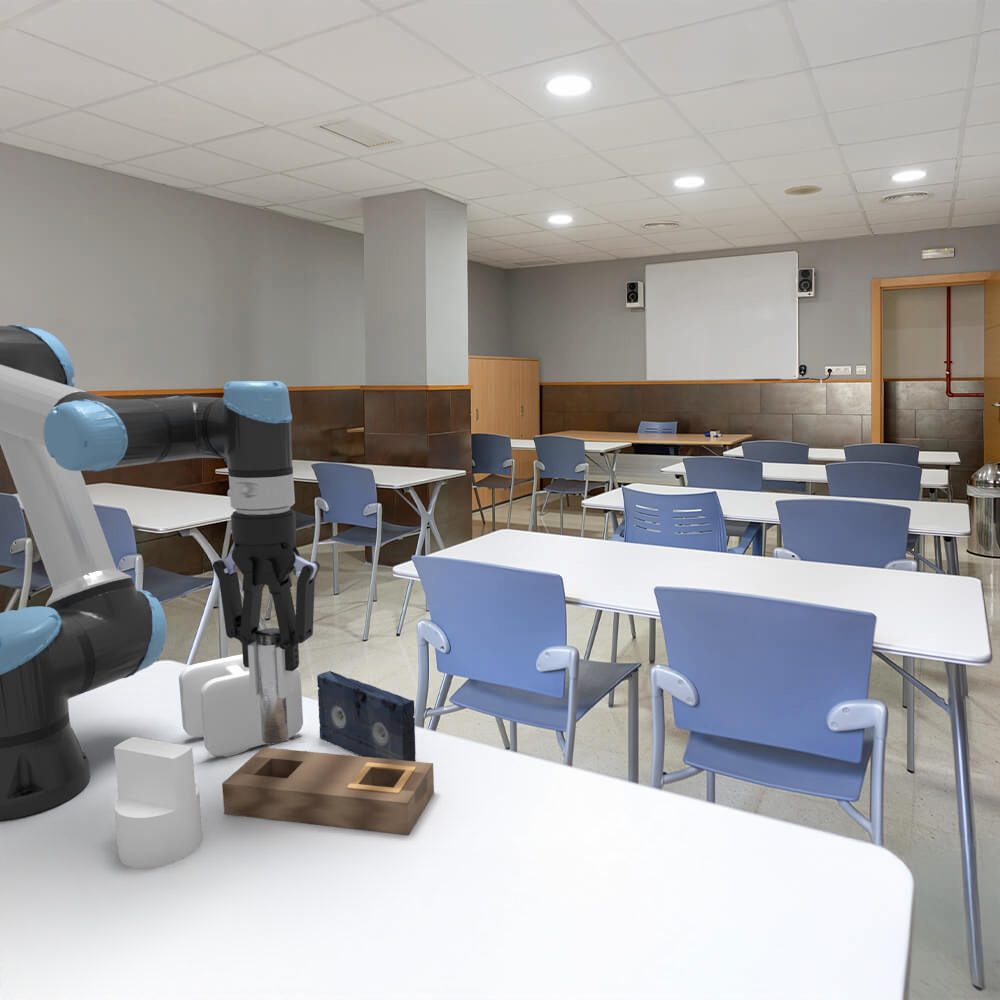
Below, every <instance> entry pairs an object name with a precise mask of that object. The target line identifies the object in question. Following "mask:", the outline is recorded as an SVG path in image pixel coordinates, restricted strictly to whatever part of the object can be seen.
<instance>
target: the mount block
mask: <svg viewBox="0 0 1000 1000" xmlns="http://www.w3.org/2000/svg"><path fill="white" fill-rule="evenodd" d="M434 782H435V781H434V763H433V762H424V761H423V762H422V761H416V762H415V761H404V760H393V759H382V758H372V757H362V756H359V755H350V754H349V755H348V754H338V753H328V752H315V751H307V750H305V751H304V750H297V749H285V748H275V747H274V748H273V747H261V749H259V750H258V751H257V752H256V753H255V754H254V755H253V756H251V758H249V759H248V760H247V761H246V762H244V763H243V764H242V765H241V766H240V767H239V768H238V769H237V770H236V771H234V772H232V774H231V775H230V776H229V777H227V778H226V779H225V780H224V781H223V782H222V783H221V785H222V787H221V789H222V800H223V814H225V815H234V816H241V817H251V818H259V819H268V820H277V821H284V822H285V821H287V822H293V823H294V822H295V823H302V824H310V825H318V826H319V825H320V826H328V827H329V826H330V827H337V828H346V829H353V830H354V829H355V830H364V831H372V832H380V833H381V832H382V833H388V834H389V833H390V834H398V835H406V836H407V835H408V836H409V835H410V833H411V831H412V829H413V828H414V827H415V824H416V823H417V821H418V820H419V819H420V816H421V815H422V814H423V812H424V810H425V809H426V806H427V804H428V803H429V801H430V800H431V798H432V796H433V795H434V793H435V784H434Z"/></svg>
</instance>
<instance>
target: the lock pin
mask: <svg viewBox="0 0 1000 1000" xmlns="http://www.w3.org/2000/svg"><path fill="white" fill-rule="evenodd" d="M256 640H257V659H258V677H259V696H260V714H261V733H262V741H263V742H264V743H266V744H267V743H268V744H271V745H274V744H280V743H282V742H285V740H286V739H287V738H288V727H287V706H286V697H285V698H279V694H278V674H277V654H276V647H278V646H279V645H280V644H281V643H282V641H281V636H280V631H279V627H278V628H276V627H268V628H263V629H260V630H259V631H258V632H256ZM286 741H287V740H286ZM268 744H267V745H268Z"/></svg>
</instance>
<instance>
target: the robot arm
mask: <svg viewBox="0 0 1000 1000" xmlns="http://www.w3.org/2000/svg"><path fill="white" fill-rule="evenodd" d="M75 373H76V372H75V368H74V364H73V361H72V358H71V356H70V354H69V352H68V350H67V349H66V347H65V346H64V345H63V343H62V342H61V341H60V340H59V339H58V337H56V336H54V334H51V333H50V332H47V331H46V330H44V329H42V328H36V327H26V326H24V325H19V324H9V325H0V447H1V450H2V453H3V456H4V459H5V461H6V464H7V467H8V469H9V472H10V475H11V478H12V479H13V483H14V486H15V489H16V492H17V494H18V497H19V499H20V503H21V506H22V508H23V510H24V513H25V517H26V519H27V522H28V524H29V525H28V526H29V527H30V530H31V533H32V535H33V539H34V541H35V544H36V547H37V549H38V552H39V554H40V557H41V561H42V563H43V566H44V569H45V571H46V574H47V577H48V580H49V583H50V585H51V588H52V593H51V594H50V597H49V599H48V600H47V602H46V604H45V606H41V605H39V606H28V607H27V606H26V607H22V608H20V609H17V610H14V609H11V610H7V611H3V612H0V821H5V820H10V819H17V818H22V817H26V816H30V815H34V814H37V813H41V812H43V811H46V810H49V809H51V808H54V807H57V806H59V805H60V804H62V803H65V802H66V801H68V800H71V798H73V797H75V796H76V795H78V794H79V793H80V792H81V791H82V790H84V788H85V787H86V786H87V785H88V783H89V782H90V779H91V770H90V762H89V758H88V756H87V754H86V753H85V752H84V751H83V750H82V747H81V744H80V742H79V740H78V738H77V735H76V733H75V731H74V729H73V728H72V725H71V720H70V719H71V718H70V711H69V700H70V699H72V698H74V697H77V696H79V695H82V694H85V693H87V692H88V693H89V692H90V691H92V690H95V689H98V688H100V687H103V686H106V685H109V684H110V683H114V682H117V681H119V680H121V679H126V678H129V677H132V676H134V675H135V674H136V673H138V672H140V671H143V670H145V669H147V668H149V667H151V666H152V665H153V664H154V663H155V662H157V660H158V659H159V658H160V656H161V655H162V652H163V651H164V645H165V644H166V641H167V632H168V629H167V628H168V627H167V620H166V614H165V611H164V608H163V606H162V604H161V603H160V601H159V600H158V598H157V597H153V594H152V593H151V592H150V591H147V590H146V589H145V590H142V589H137V587H136V585H135V582H134V580H133V579H134V578H133V577H132V576H131V575H130V574H127V573H125V572H122V571H121V570H119V569H118V568H117V567H116V564H115V562H114V558H113V556H112V553H111V550H110V548H109V545H108V542H107V539H106V536H105V534H104V530H103V528H102V525H101V523H100V520H99V518H98V515H97V512H96V510H95V506H94V504H93V501H92V498H91V496H90V493H89V490H88V487H87V485H86V481H85V479H84V476H83V474H82V472H84V471H90V472H101V471H104V470H105V471H106V470H109V469H115V468H123V467H131V466H139V465H145V464H152V463H154V464H155V463H162V462H172V461H178V460H179V461H180V460H189V459H197V458H198V459H200V458H201V459H203V458H208V459H209V458H210V459H211V458H212V459H214V458H215V459H223V460H224V459H226V460H227V466H228V467H227V468H228V470H227V471H228V482H229V485H228V486H229V499H230V507H231V508H232V509H233V510H235V511H233V512H232V514H230V520H231V521H230V522H231V539H232V541H233V543H234V546H233V550H232V551H231V553H230V554H231V555H230V556H226V557H223V558H221V559H218V560H215V561H214V562H213V563H212V568H213V571H214V573H215V575H216V577H217V579H218V583H219V590H220V596H221V597H220V598H221V605H222V613H223V621H224V626H225V627H224V628H225V635H226V636H227V638H229V639H233V638H234V639H236V640H238V641H239V642H240V643H241V648H242V654H243V664H244V667H247V668H249V677H250V694H251V696H257V695H258V694H259V677H258V659H257V640H256V632H258V631H259V629H260V621H261V611H262V610H261V609H262V600H263V591H264V587H265V586H267V587H268V592H269V594H270V595H271V596H272V602H273V605H274V611H275V616H276V620H277V625H278V629H279V631H280V636H281V641H282V643H281V644H280V645H279V646H278V647H276V654H277V674H278V694H279V698H285V697H287V696H288V695H289V694H290V693H292V692H293V691H294V671H293V670H295V669H296V668H298V667H299V665H300V652H299V644H303V643H304V642H305V641H307V640H308V639H309V638H311V637H312V636H313V634H314V611H315V610H314V609H315V608H314V607H315V587H316V586H315V584H316V583H315V582H316V581H315V580H316V578H317V575H318V573H319V571H320V569H321V565H320V563H319V562H318V561H316V560H314V561H312V562H310V561H308V560H306V559H305V558H303V557H301V556H300V554H301V553H300V551H299V550H298V548H297V546H296V540H297V539H296V538H297V524H296V523H297V522H296V511H295V510H294V509H293V508H291V507H293V506H294V504H296V499H295V485H294V483H295V482H294V469H293V468H294V467H293V446H292V445H293V444H292V441H293V440H292V439H293V437H292V435H293V434H292V427H293V426H292V425H293V424H292V420H293V415H292V411H291V403H290V402H291V401H290V394H289V389H288V387H287V385H286V384H285V383H283V382H282V381H279V380H265V381H264V380H260V381H259V380H256V381H255V380H251V381H250V380H245V381H244V380H243V381H241V380H240V381H239V380H238V381H228V382H226V383H225V384H224V387H223V396H222V397H210V396H209V397H205V396H193V395H175V396H169V397H161V398H160V397H159V398H158V397H157V398H139V399H138V398H137V399H136V398H135V399H114V398H108V397H105V396H102V395H98V394H96V393H91V392H89V391H87V390H83V389H80V388H77V387H75V384H76V383H75V382H74V380H73V378H75V377H76V376H75V375H76V374H75ZM294 569H296V572H295V577H296V578H297V582H296V597H295V604H294V601H293V596H292V595H293V594H292V590H291V589H292V578H291V573H292V572H293V570H294ZM238 570H239V571H240V573H241V574H242V575H243V579H242V588H241V587H240V580H239V574H238ZM241 589H242V591H243V597H242V595H241V594H242V593H241ZM242 598H243V599H242ZM242 600H243V601H242ZM294 605H295V606H294Z"/></svg>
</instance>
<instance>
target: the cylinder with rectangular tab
mask: <svg viewBox="0 0 1000 1000" xmlns="http://www.w3.org/2000/svg"><path fill="white" fill-rule="evenodd" d="M113 750H114V751H113V753H114V764H115V773H116V785H117V786H116V787H117V794H118V795H117V796H118V797H117V798H116V799H115V801H114V804H113V809H114V811H113V812H114V821H115V823H114V824H115V830H116V831H115V832H116V840H117V841H116V842H117V855H118V858H119V861H120V862H121V863H122V864H123V865H125V866H128V867H131V868H137V869H153V868H159V867H163V866H167V865H171V864H174V863H176V862H178V861H180V860H182V859H185V858H186V857H187V856H189V855H191V854H192V853H194V852H195V851H196V850H197V848H199V847H200V845H201V844H202V841H203V825H202V810H201V809H202V808H201V799H200V797H201V796H200V787H199V785H198V784H197V783H196V779H195V766H194V765H195V764H194V753H193V747H192V746H189V745H183V744H176V743H171V742H166V741H159V740H155V739H154V740H153V739H148V738H143V737H137V736H132V737H130V738H128V739H125V740H124V741H122V742H120V743H119V744H117V745H116V746H114V747H113Z"/></svg>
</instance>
